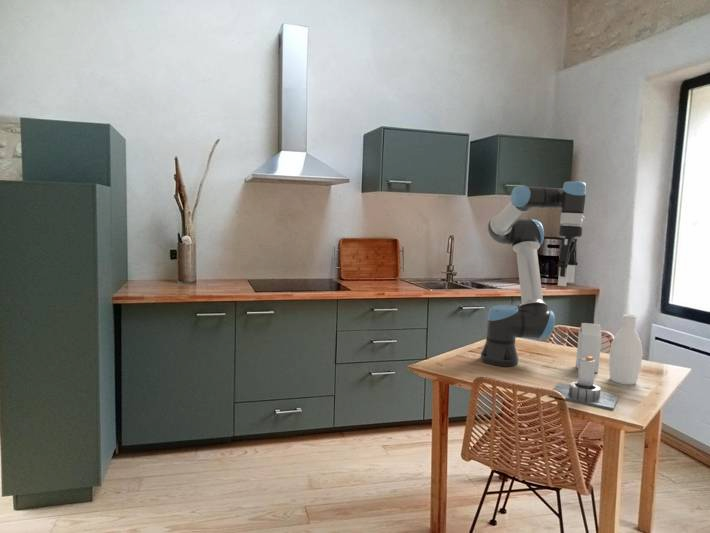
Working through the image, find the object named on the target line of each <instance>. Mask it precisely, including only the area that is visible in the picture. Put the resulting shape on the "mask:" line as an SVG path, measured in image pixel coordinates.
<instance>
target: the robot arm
mask: <svg viewBox="0 0 710 533" xmlns="http://www.w3.org/2000/svg"><path fill="white" fill-rule="evenodd" d="M586 184H587V183H585V182H584V181H565V182H564V183H563V187H562V188H559V187H558V188H557V187H542V186H541V187H538V186H526V185H525V186H524V185H523V186H521V185H520V186H514V188H513V189H512V191H511V195H510V201H509V202H508V204H507V205H506V206H505V207H504V208H503V209H502V210H501V212H499V213H498V214H495V215H494V216H493V217H491V219H490V220H489V222H488V223H487V224H488V225H487V231H488V234H489V236H490V237H491V238H492V240H494V241H495V242H497V243H499V244H503V245H511V246H512V251H514V252H515V253H516V261H517V268H518V269H517V271H518V279H519V280H518V281H519V290H520V298H521V303H520V304H519V306H517V305H514V304H500V305H493V306H491V307H490V308H489V310H488V314H487V317H486V318H487V326H486V338H485V344H484V345H483V348H482V350H481V353H480V359H479V360H481V362H483V363H486V364H488V365H492V366H496V367H497V366H498V367H513V366H514V367H515V366H517V365H519V356H518V352H517V347H516V339H517V338H521V339H522V338H523V339H537V340H539V339H548V338H549V337H550V336H551V335H552V333H553V331H554V328H555V325H556V324H555V323H556V322H555V321H556V317H555V313H554V312H553V310H550V309H549V306H548V304H547V303H546V302H545V301H544V299H543V290H542V288H543V287H542V283H541V273H540V265H539V257H538V250H539V249H540V247H541V245H542V244H543V242H544V240H545V238H544V236H545V231H544V227H543V224H542V223H541V222H540V221H539V220H537V219H532V218H522V217H524V216H525V215H526V214H527V213H528V212H529V211H530V210H531V209H532V208H535V209H536V208H539V209H540V208H541V209H543V208H544V209H553V210H554V209H555V210H560V219H559V220H560V221H559V224H561V225H560V226H559V232H558V233H559V234H558V235H559V236H560V237H565V238H562V242H561V248H560V253H559V258H558V263H557V264H556V267H557V268H558V276H557V277H558V279H557V286H559V287H567V284H568V283H570V284H571V283H572V284H574V281H575V271H576V266H578V261H577V260H578V259H577V255H578V254H577V246H578V245H577V242H578V239H577V238H580V237H582V235H583V226H582V225H583V222H584V220H585V219H586V217H585V216H584V212H585V204H586V196H587V187H586V186H587V185H586Z"/></svg>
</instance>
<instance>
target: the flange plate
mask: <svg viewBox="0 0 710 533" xmlns="http://www.w3.org/2000/svg"><path fill="white" fill-rule="evenodd" d="M601 389H602V388H601V387H600V386H599V385H597V384H594V383H593V389H584V388H580V387H577V380H575V381H571V382H570V383H569V384H568V383H562V382H557V383H556V385H555V386H554V388H553V389H552V390H556V391H558V392H560V393H561V394H562V395H563V396H564V397H565V399H566V400H565V401H569V402H574V403H577V404H582V405H588V406H590V407H591V406H593V407H596V408H601V409H606V410H609V411H614V410H615V407H616V405H617V403H618V401H619V398H620V394H617V393H612V392H608V391H607V392H606V391H602V390H601Z"/></svg>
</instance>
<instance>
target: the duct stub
mask: <svg viewBox="0 0 710 533" xmlns="http://www.w3.org/2000/svg"><path fill="white" fill-rule="evenodd" d="M577 370H578V372H577V373H578V374H577V380H576V382H577V387H580V388H584V389H593V384H594V382H595V372H594V371H595V360H593V357H591V356H589V357H586V358H580V359H579V369H578V368H577Z"/></svg>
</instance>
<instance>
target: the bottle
mask: <svg viewBox="0 0 710 533" xmlns="http://www.w3.org/2000/svg"><path fill="white" fill-rule="evenodd" d="M622 317H623V318H622V324H621V328H620V329H619V330H618V331H617V332H616V334H615V335H614V338H613V340H612V341H611V345H610V349H609V358H608V362H609V363H608V366H609V367H608V369H609V378H610V380H611V382H614V383H618V384H621V385H625V386H627V385H628V386H629V385H631V386H633V385H636V384H637V383H638V379H639V375H640V372H641V368H642V360H643V346H642V345H643V344H642V342H641V337H640V336H639V334H638V332H637V330H636V324H637V322H636V321H637V316H636V315H634V314H629V313H625V314H623V315H622Z"/></svg>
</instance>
